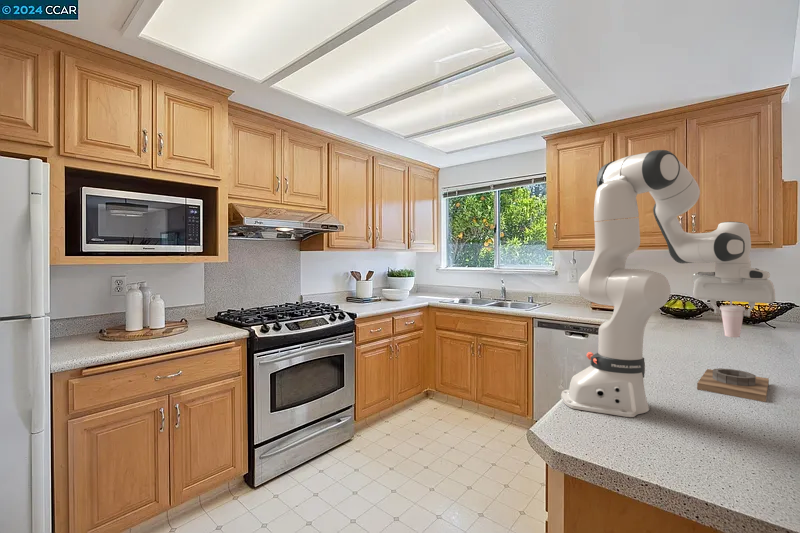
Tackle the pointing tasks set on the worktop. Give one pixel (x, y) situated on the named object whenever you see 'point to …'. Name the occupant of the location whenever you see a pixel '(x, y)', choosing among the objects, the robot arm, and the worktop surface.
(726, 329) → the smoothie
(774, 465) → the worktop surface
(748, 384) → the stand
